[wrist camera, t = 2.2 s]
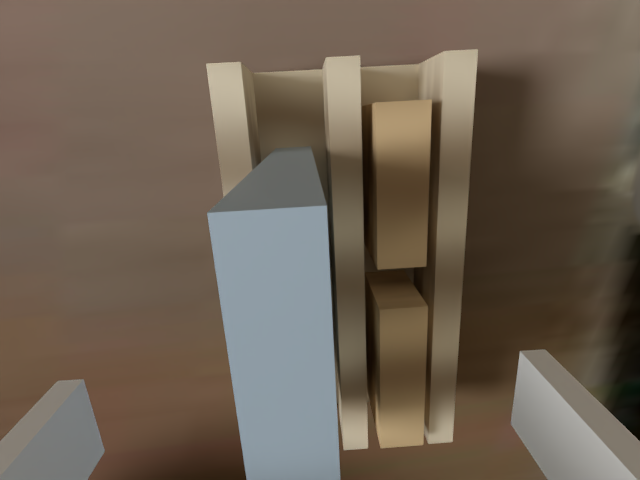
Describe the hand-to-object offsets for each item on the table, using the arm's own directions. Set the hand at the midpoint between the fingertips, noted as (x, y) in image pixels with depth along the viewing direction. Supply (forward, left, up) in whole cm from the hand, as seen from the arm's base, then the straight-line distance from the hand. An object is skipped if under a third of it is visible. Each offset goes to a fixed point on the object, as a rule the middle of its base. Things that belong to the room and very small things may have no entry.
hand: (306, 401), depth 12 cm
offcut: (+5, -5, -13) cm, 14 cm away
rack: (0, -2, -14) cm, 14 cm away
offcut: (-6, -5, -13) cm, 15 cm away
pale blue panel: (0, 0, -13) cm, 13 cm away
